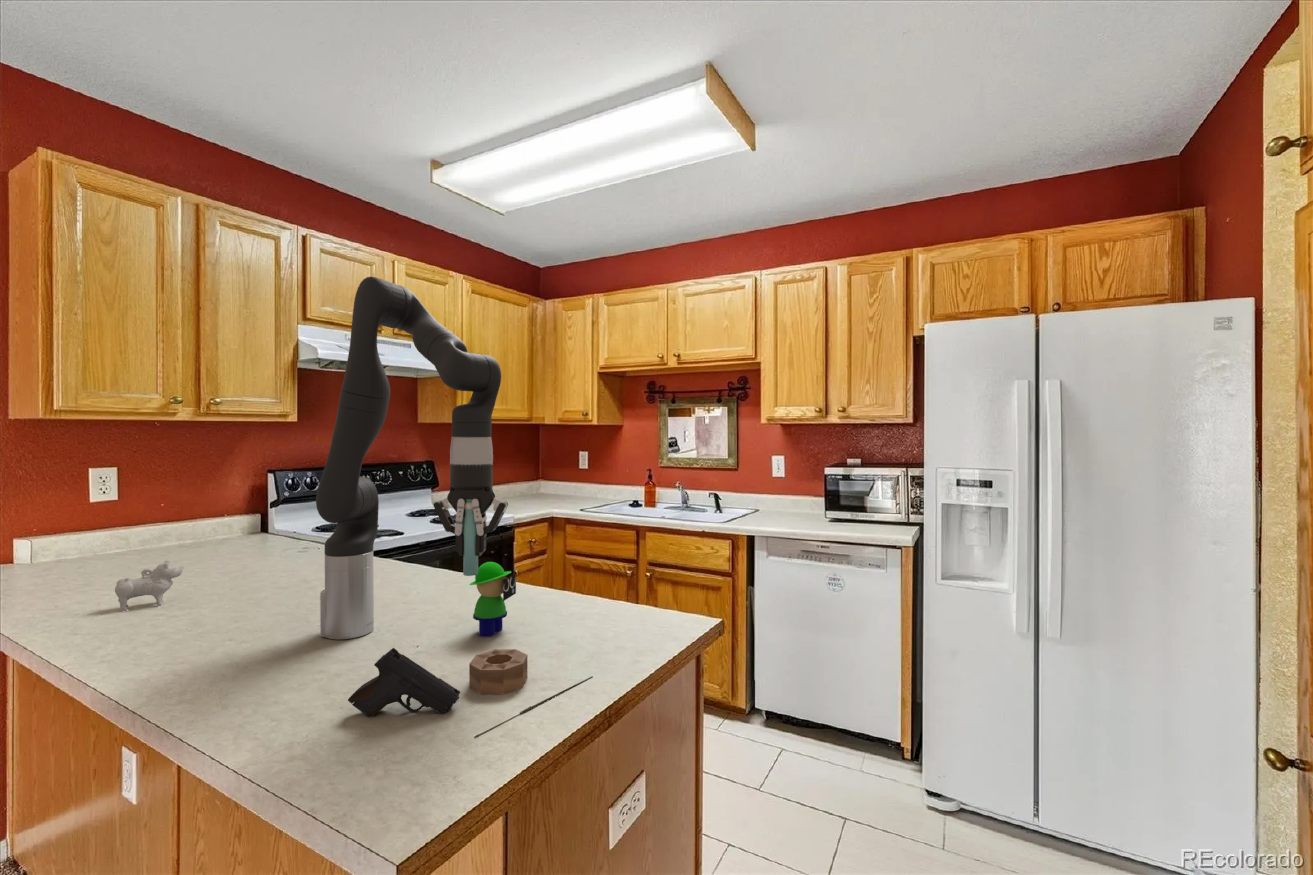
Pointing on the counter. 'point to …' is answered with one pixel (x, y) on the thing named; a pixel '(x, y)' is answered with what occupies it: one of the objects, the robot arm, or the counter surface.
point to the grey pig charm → (148, 584)
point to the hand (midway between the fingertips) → (471, 554)
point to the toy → (492, 597)
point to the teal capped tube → (469, 542)
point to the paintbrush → (536, 705)
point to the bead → (498, 671)
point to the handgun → (403, 687)
